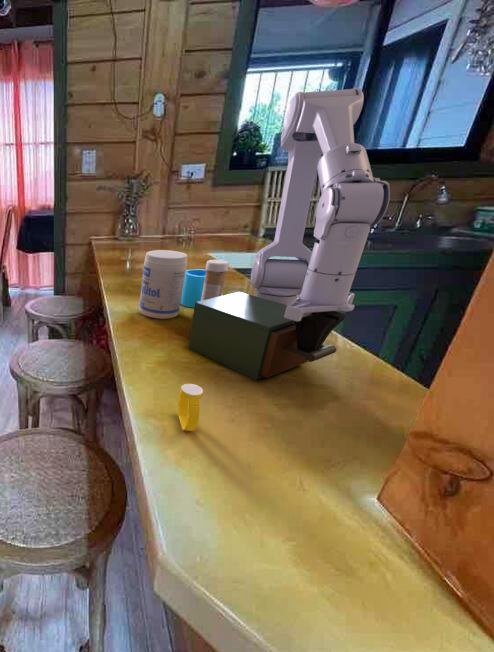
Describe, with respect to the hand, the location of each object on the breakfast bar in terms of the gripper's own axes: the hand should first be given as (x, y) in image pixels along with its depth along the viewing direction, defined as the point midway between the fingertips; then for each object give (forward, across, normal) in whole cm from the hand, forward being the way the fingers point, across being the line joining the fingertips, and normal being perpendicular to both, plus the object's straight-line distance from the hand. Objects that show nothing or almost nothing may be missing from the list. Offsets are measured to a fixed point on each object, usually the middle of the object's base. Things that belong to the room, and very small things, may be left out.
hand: (306, 353), depth 61 cm
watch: (+5, -26, 0) cm, 26 cm away
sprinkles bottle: (+5, +11, +28) cm, 30 cm away
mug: (+5, +18, +38) cm, 42 cm away
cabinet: (+5, 0, +11) cm, 12 cm away
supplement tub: (+5, +3, +36) cm, 36 cm away
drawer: (+4, 0, +6) cm, 8 cm away
